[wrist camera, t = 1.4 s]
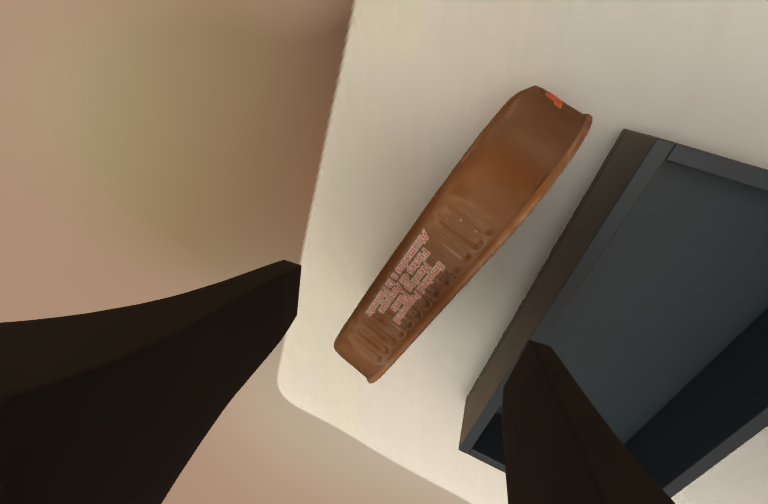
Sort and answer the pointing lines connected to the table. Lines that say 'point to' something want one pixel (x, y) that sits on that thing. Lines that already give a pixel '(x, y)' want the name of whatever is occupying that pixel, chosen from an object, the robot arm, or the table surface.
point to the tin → (463, 226)
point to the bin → (652, 310)
